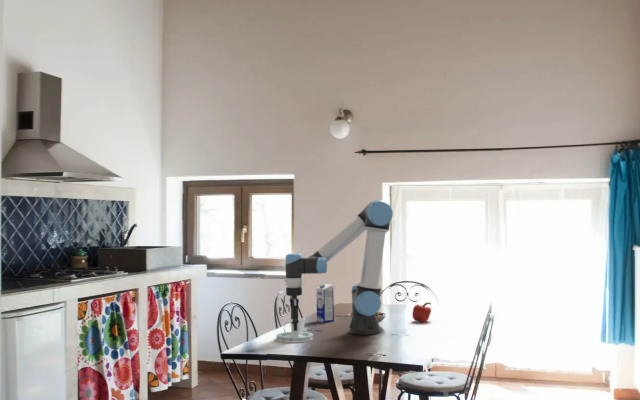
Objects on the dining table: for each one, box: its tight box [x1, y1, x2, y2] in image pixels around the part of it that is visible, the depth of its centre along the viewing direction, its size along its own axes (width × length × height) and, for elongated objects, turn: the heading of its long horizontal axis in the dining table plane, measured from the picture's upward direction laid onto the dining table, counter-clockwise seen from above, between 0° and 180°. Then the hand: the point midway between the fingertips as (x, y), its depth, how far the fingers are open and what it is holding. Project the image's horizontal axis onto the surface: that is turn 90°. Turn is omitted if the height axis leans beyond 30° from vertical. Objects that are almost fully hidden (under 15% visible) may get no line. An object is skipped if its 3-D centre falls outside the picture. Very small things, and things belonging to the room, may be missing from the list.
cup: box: [283, 317, 306, 337], centre depth 303 cm, size 7×10×8 cm
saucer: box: [275, 331, 314, 344], centre depth 303 cm, size 17×17×2 cm
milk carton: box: [315, 283, 335, 324], centre depth 353 cm, size 7×7×20 cm
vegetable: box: [411, 302, 432, 323], centre depth 346 cm, size 11×10×10 cm
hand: (294, 335), depth 303 cm, fingers closed on cup, 7 cm apart
